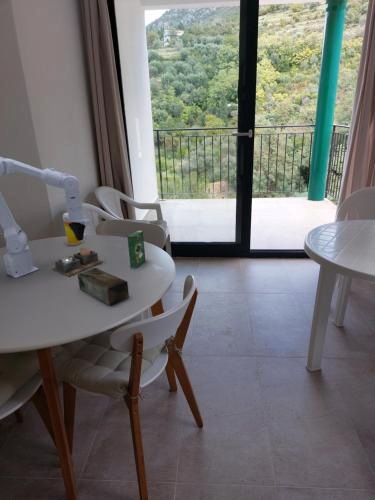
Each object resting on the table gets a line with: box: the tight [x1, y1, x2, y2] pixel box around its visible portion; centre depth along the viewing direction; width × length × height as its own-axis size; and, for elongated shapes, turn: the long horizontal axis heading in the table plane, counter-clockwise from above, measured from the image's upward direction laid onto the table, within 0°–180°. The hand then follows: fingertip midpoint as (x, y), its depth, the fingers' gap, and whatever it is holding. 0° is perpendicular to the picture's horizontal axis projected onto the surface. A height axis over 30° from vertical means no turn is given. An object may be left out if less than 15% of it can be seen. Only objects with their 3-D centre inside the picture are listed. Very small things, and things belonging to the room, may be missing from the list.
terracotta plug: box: [79, 247, 91, 257], centre depth 139 cm, size 4×4×4 cm
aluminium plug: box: [61, 256, 73, 264], centre depth 133 cm, size 4×4×4 cm
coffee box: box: [126, 230, 146, 269], centre depth 134 cm, size 8×3×13 cm, turn 158°
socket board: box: [51, 249, 104, 278], centre depth 137 cm, size 16×12×4 cm
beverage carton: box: [76, 267, 130, 306], centre depth 114 cm, size 8×19×7 cm, turn 47°
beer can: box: [62, 212, 82, 247], centre depth 160 cm, size 6×6×15 cm
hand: (80, 239), depth 137 cm, fingers closed
